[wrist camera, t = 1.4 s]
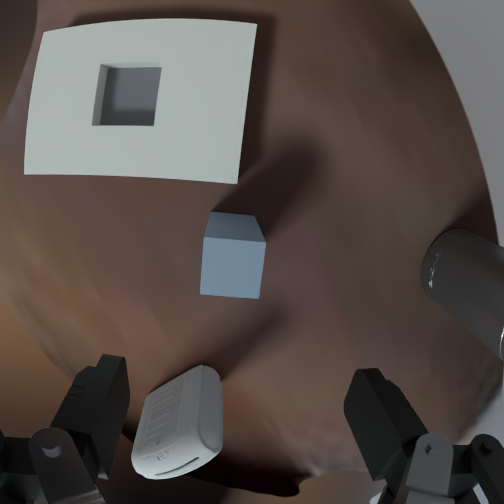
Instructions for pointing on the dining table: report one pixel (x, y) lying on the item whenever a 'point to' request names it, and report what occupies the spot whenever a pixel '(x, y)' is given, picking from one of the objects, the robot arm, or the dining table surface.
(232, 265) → the peg
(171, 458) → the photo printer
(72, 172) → the socket
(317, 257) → the dining table surface
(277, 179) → the dining table surface
